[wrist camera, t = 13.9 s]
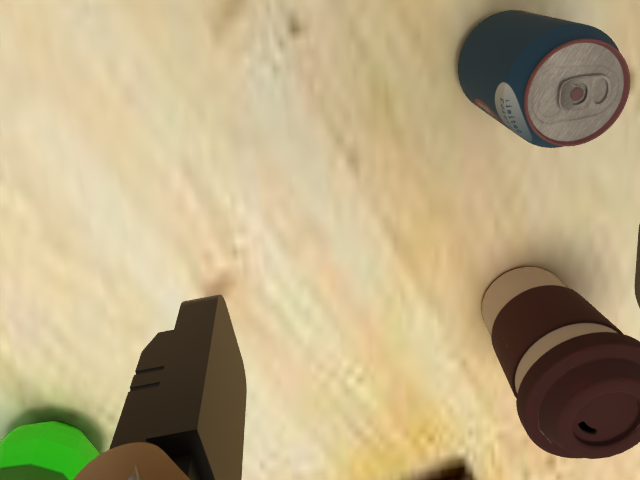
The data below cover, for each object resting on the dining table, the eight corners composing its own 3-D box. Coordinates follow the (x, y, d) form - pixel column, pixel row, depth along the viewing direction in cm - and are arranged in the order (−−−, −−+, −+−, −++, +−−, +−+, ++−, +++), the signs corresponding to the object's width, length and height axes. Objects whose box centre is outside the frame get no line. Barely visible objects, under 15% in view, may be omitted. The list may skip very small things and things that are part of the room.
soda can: (452, 113, 44) (511, 163, 33) (452, 14, 41) (518, 34, 30) (543, 102, 44) (632, 149, 33) (550, 3, 41) (651, 19, 30)
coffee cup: (566, 234, 49) (679, 339, 35) (583, 326, 53) (688, 451, 40) (453, 273, 50) (520, 389, 36) (478, 360, 54) (547, 494, 40)
